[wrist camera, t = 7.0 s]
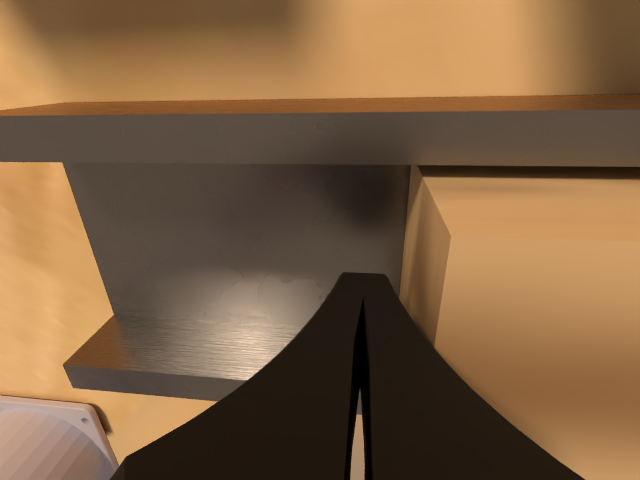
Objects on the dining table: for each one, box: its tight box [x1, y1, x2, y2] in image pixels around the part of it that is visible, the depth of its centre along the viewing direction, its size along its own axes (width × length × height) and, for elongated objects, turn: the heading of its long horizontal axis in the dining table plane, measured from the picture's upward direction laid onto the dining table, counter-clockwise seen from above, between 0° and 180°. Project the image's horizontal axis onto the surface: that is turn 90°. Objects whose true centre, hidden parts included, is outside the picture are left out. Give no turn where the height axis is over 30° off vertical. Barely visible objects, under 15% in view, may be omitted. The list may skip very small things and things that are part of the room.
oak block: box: [399, 165, 640, 480], centre depth 10 cm, size 7×6×6 cm
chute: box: [0, 94, 640, 415], centre depth 12 cm, size 10×20×4 cm, turn 91°
